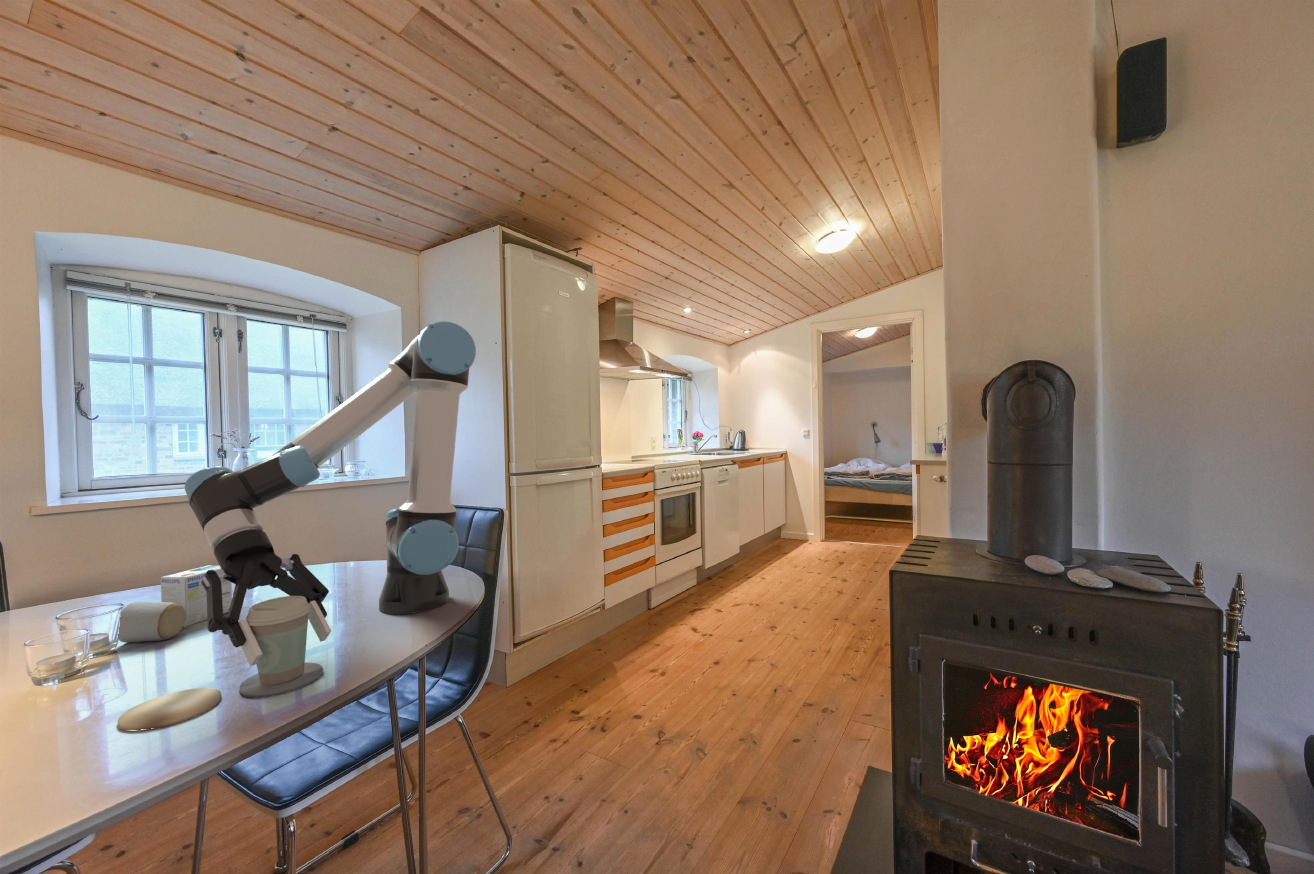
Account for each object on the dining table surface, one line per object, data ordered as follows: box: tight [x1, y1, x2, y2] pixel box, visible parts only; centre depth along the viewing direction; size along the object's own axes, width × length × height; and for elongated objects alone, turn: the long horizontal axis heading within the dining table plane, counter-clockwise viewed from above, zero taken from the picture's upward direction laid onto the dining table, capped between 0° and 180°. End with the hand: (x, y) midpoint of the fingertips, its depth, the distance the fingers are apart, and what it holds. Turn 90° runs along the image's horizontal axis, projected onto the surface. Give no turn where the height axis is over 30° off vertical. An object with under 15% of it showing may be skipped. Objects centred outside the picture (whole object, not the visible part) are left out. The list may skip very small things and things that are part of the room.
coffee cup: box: [245, 595, 311, 685], centre depth 84 cm, size 8×9×12 cm
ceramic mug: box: [118, 601, 188, 643], centre depth 105 cm, size 11×8×8 cm
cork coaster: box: [117, 687, 222, 731], centre depth 75 cm, size 11×11×1 cm
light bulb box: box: [160, 564, 233, 627], centre depth 116 cm, size 11×7×11 cm, turn 172°
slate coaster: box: [238, 661, 324, 699], centre depth 84 cm, size 11×11×1 cm
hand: (293, 647), depth 83 cm, fingers open, 10 cm apart
